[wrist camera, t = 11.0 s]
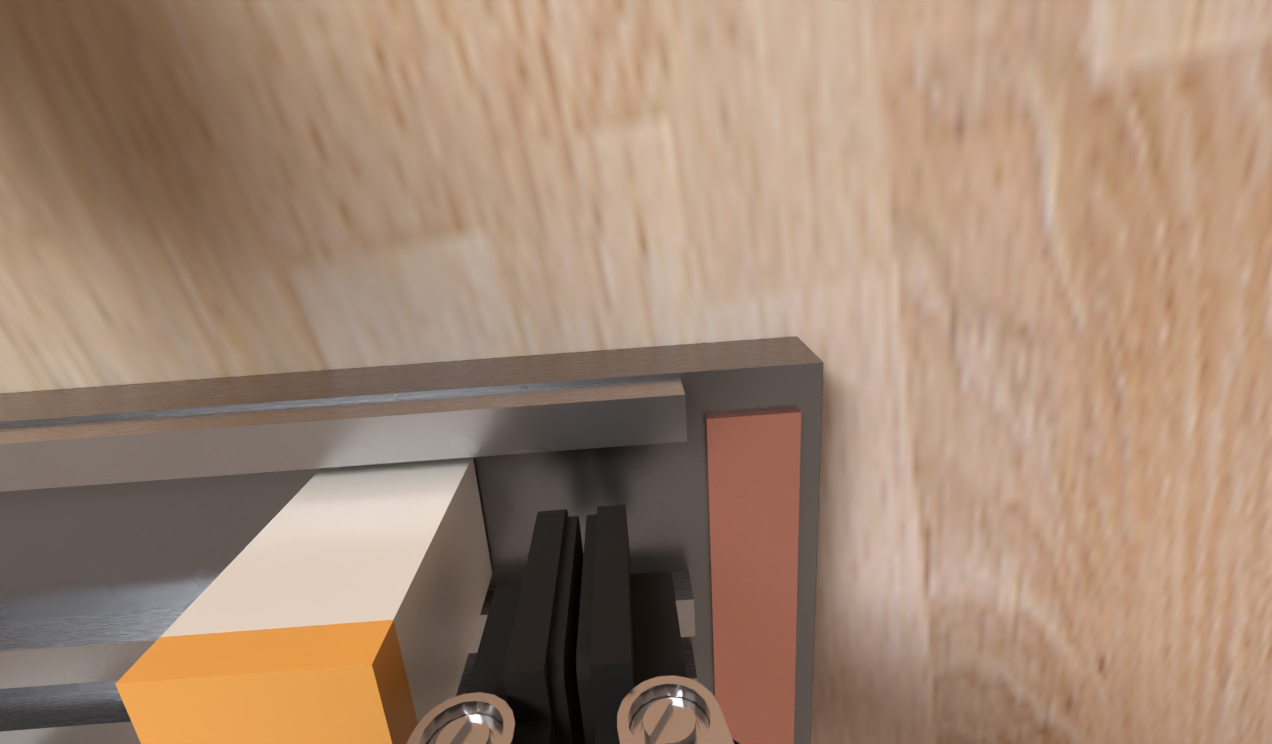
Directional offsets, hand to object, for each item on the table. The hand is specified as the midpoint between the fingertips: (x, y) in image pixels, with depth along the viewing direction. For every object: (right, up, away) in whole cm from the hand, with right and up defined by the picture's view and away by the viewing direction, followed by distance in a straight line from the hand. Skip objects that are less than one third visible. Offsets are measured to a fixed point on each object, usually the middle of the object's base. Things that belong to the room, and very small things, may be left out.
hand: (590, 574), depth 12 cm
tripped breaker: (-4, 0, +2) cm, 5 cm away
